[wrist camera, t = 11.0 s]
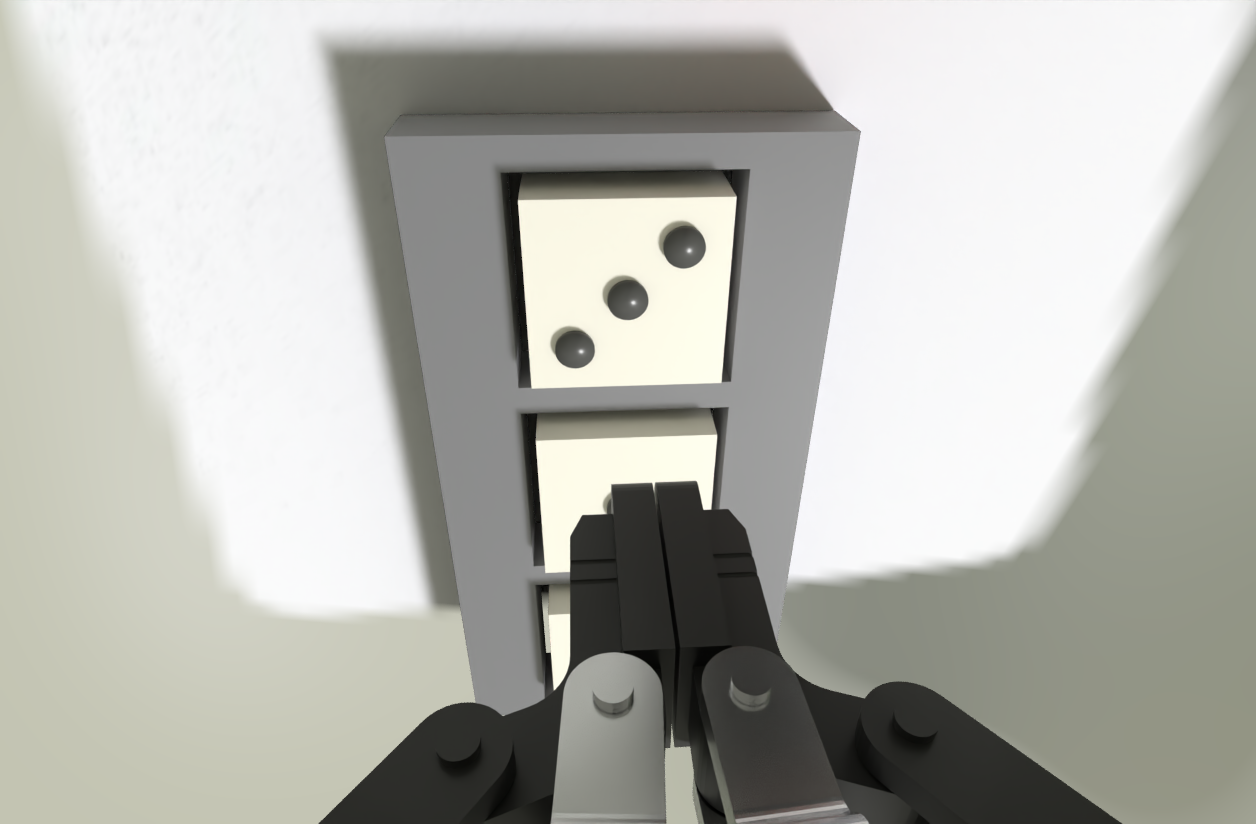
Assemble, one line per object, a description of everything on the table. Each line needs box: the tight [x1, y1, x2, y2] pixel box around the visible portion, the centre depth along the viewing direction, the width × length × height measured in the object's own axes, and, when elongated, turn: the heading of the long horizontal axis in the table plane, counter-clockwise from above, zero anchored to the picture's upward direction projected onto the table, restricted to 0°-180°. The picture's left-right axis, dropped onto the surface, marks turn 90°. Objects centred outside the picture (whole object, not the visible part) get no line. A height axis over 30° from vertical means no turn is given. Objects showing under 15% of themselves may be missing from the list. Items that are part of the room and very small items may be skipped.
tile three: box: [518, 170, 737, 389], centre depth 24 cm, size 6×6×3 cm
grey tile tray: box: [384, 111, 861, 715], centre depth 29 cm, size 13×25×2 cm, turn 0°
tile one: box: [536, 408, 717, 573], centre depth 28 cm, size 6×6×3 cm
